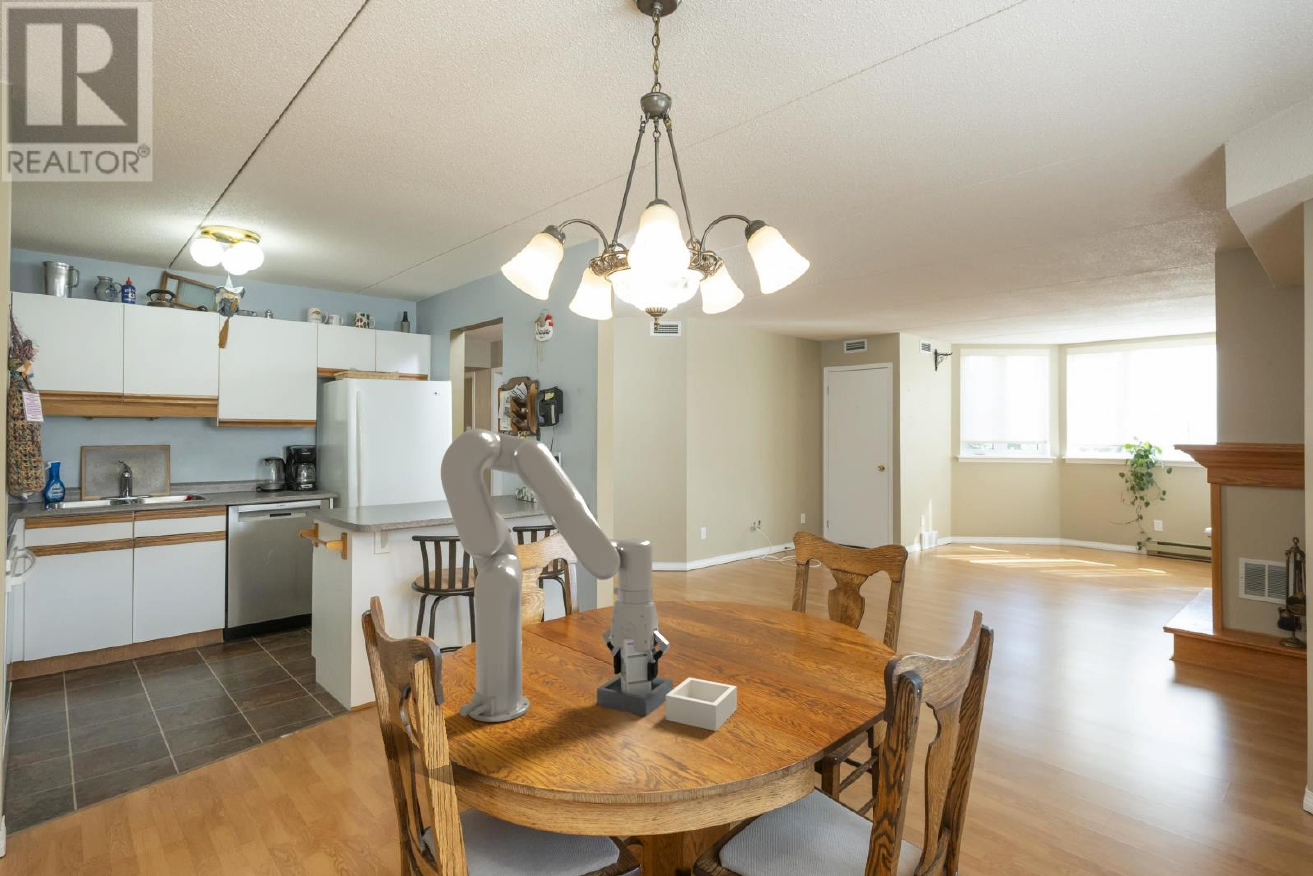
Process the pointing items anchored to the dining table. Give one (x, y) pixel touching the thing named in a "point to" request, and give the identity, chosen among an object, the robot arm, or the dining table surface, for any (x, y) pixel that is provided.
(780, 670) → the dining table surface
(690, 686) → the cradle
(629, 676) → the syrup box
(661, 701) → the gray square frame
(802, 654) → the dining table surface
